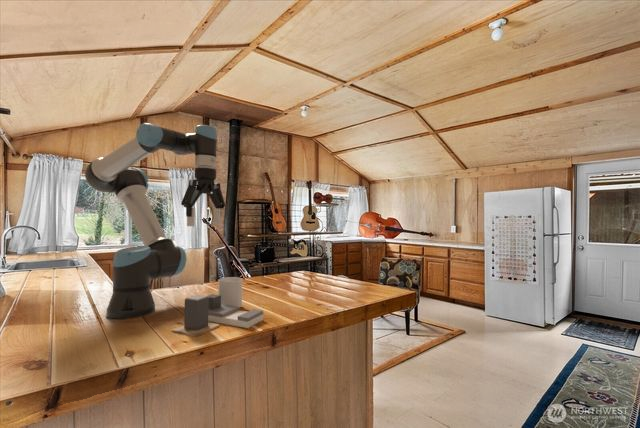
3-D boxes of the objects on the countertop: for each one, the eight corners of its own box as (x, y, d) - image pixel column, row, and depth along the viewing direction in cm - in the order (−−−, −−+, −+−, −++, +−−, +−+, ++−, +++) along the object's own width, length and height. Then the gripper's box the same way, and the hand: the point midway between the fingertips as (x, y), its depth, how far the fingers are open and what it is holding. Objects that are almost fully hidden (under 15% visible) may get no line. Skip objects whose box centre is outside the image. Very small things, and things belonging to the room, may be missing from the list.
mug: (243, 310, 123) (244, 280, 123) (219, 312, 119) (219, 282, 119) (239, 302, 134) (239, 275, 134) (216, 304, 130) (217, 276, 130)
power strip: (189, 317, 113) (190, 297, 113) (207, 310, 121) (208, 291, 121) (247, 328, 104) (248, 305, 104) (263, 319, 112) (263, 298, 112)
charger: (184, 328, 101) (184, 298, 101) (196, 323, 105) (196, 294, 105) (196, 330, 99) (197, 299, 99) (208, 325, 103) (208, 296, 103)
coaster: (171, 331, 99) (171, 329, 99) (195, 321, 109) (195, 320, 109) (196, 336, 96) (196, 334, 96) (219, 326, 105) (219, 324, 105)
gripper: (187, 162, 107) (186, 226, 107) (235, 172, 130) (234, 225, 130) (170, 163, 110) (169, 226, 110) (219, 172, 133) (219, 224, 133)
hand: (204, 225), depth 120 cm, fingers open, 13 cm apart
